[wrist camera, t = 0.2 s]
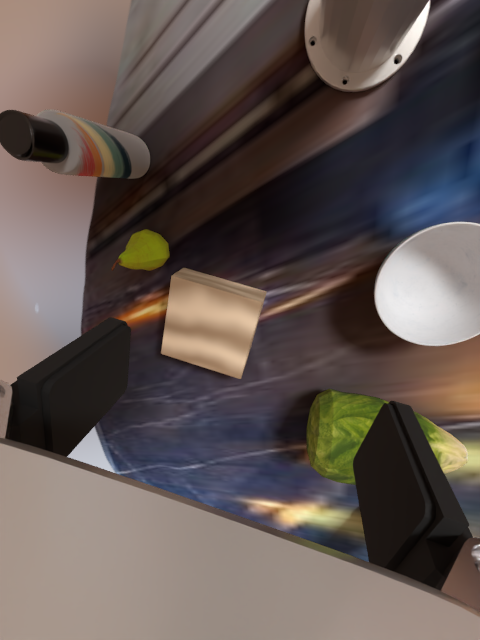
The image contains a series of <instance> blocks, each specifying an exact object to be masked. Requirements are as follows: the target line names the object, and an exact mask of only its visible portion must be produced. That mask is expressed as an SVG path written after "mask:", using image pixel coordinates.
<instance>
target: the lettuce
mask: <svg viewBox="0 0 480 640" xmlns="http://www.w3.org/2000/svg"><path fill="white" fill-rule="evenodd" d="M384 403H387V404H388V403H389V402H387V401H385V400H382V399H380V398H376V397H371V396H366V395H361V394H354V393H345V392H340V391H337V390H333V389H328V390H326V391H323V392H321V393H319V394H318V395H317V396H316V398H315V400H314V402H313V404H312V406H311V408H310V412H309V418H308V424H307V452H308V456H309V460H310V464H311V466H312V467H313V468H314V469H315V470H316V471H317V472H318V473H319V474H320V475H321V476H322V477H325V478H328V479H330V480H333V481H336V482H340V483H346V484H352V485H356V482H355V477H354V471H353V460H354V457H355V455H356V453H357V451H358V449H359V447H360V445H361V444H362V442H363V440H364V438H365V436H366V434H367V433H368V431H369V429H370V427H371V425H372V423H373V422H374V420H375V418H376V416H377V414H378V412H379V411H380V409H381V407H382V405H383V404H384ZM413 412H414V411H413ZM414 414H415V416H416V418H417V420H418V422H419V424H420V426H421V428H422V430H423V432H424V434H425V436H426V438H427V440H428V442H429V444H430V446H431V448H432V450H433V452H434V454H435V456H436V458H437V460H438V462H439V464H440V466H441V468H442V470H443V472H444V473H448V472H451V471H454V470H456V469H459V468H460V467H462V466H464V465H465V464H466V463H467V460H468V453H467V450H466V447H465V446H464V445H463V444H462V443H461V442H460V441H459V440H457V439H456V438H455V437H454V436H452V435H451V434H449V433H448V432H446V431H444V430H443V429H441V428H439V427H438V426H436V425H435V424H434V423H432V422H431V421H430V420H428V419H427V418H425V417H423V416H421V415H420V414H418V413H416V412H414Z"/></svg>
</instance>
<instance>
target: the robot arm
mask: <svg viewBox="0 0 480 640" xmlns="http://www.w3.org/2000/svg"><path fill="white" fill-rule="evenodd" d="M429 9H430V0H309V3H308V6H307V12H306V18H305V46H306V50H307V55H308V58H309V61H310V63H311V66H312V68H313V69H314V71H315V72H316V74H317V75H318V77H319V78H320V79H321V80H323V81H324V82H325V83H326V84H327V85H329V86H331V87H332V88H334V89H337V90H340V91H344V92H359V91H365V90H368V89H371V88H373V87H376V86H378V85H379V84H381V83H383V82H384V81H386V80H388V79H389V78H390V77H391V76H392V75H393V74H395V73H396V72H397V71H398V70H399V69H400V68H401V66H402V65H403V64H404V63H405V62H406V61H407V59H408V58H409V56H410V55H411V54H412V52H413V51H414V49H415V47H416V46H417V44H418V42H419V40H420V38H421V36H422V33H423V31H424V28H425V25H426V23H427V18H428V14H429ZM312 42H314V43H315V45H314V46H311V45H310V44H311V43H312ZM394 60H398V64H394ZM344 80H345V81H347V84H346V85H343V83H342V82H343V81H344ZM130 336H131V329H130V327H128V326H127V323H126V322H125V321H122V320H118V319H115V318H108V319H107V320H105V321H103V322H102V323H100V324H99V325H97V326H96V327H94V328H93V329H91V330H90V331H88V332H86V333H85V334H83V335H82V336H80V337H79V338H77V339H76V340H74V341H72V342H71V343H69V344H68V345H66V346H65V347H63V348H62V349H60V350H59V351H57V352H56V353H54V354H52V355H51V356H49V357H48V358H46V359H45V360H43V361H41V362H40V363H39V364H37V365H35V366H34V367H32V368H31V369H29V370H28V371H26V372H24V373H23V374H21V375H20V376H18V377H17V381H16V382H14V383H13V384H11V385H9V384H8V383H7V382H4V381H2V380H0V640H480V538H477V537H474V538H473V537H472V534H471V532H470V530H469V528H468V526H469V523H468V521H467V519H466V517H465V515H464V513H463V511H462V509H461V507H460V505H459V503H458V501H457V499H456V497H455V495H454V493H453V491H452V489H451V487H450V485H449V483H448V481H447V479H446V477H445V475H444V472H443V470H442V468H441V466H440V464H439V462H438V460H437V458H436V456H435V454H434V452H433V450H432V448H431V446H430V444H429V442H428V440H427V438H426V436H425V434H424V432H423V430H422V428H421V426H420V424H419V422H418V420H417V418H416V416H415V414H414V412H413V410H412V408H411V407H410V406H409V405H405V404H402V403H398V402H395V401H390V402H389V403H388V404H387V403H384V404H383V405H382V407H381V409H380V411H379V412H378V414H377V416H376V418H375V420H374V422H373V423H372V425H371V427H370V429H369V431H368V433H367V434H366V436H365V438H364V440H363V442H362V444H361V445H360V447H359V449H358V451H357V453H356V455H355V457H354V460H353V471H354V477H355V482H356V488H357V494H358V500H359V505H360V511H361V517H362V523H363V528H364V534H365V540H366V546H367V552H368V557H369V562H366V561H364V560H361V559H358V558H356V557H353V556H350V555H348V554H345V553H342V552H339V551H336V550H334V549H331V548H328V547H325V546H322V545H319V544H317V543H314V542H311V541H308V540H305V539H303V538H300V537H297V536H294V535H291V534H288V533H286V532H283V531H280V530H277V529H274V528H271V527H269V526H266V525H263V524H260V523H257V522H254V521H252V520H249V519H246V518H243V517H240V516H237V515H234V514H231V513H229V512H226V511H223V510H220V509H217V508H214V507H211V506H209V505H206V504H203V503H200V502H197V501H194V500H191V499H188V498H185V497H183V496H180V495H177V494H174V493H171V492H168V491H165V490H162V489H159V488H157V487H154V486H151V485H148V484H145V483H142V482H139V481H136V480H133V479H130V478H127V477H124V476H121V475H118V474H116V473H113V472H110V471H107V470H104V469H101V468H98V467H95V466H92V465H89V464H86V463H83V462H80V461H77V460H74V459H71V458H68V457H67V456H68V455H69V454H70V453H71V452H72V450H73V449H74V448H75V447H76V446H77V445H78V444H79V443H80V442H81V440H82V439H83V438H84V437H85V436H86V435H87V434H88V433H89V432H90V430H91V429H92V428H93V427H94V426H95V425H96V424H97V423H98V422H99V420H100V419H101V418H102V417H103V416H104V415H105V414H106V413H107V412H108V410H109V409H110V408H111V407H112V406H113V405H114V404H115V403H116V401H117V400H118V399H119V398H120V397H121V396H122V395H123V394H124V392H125V390H126V388H127V383H128V367H129V351H130Z"/></svg>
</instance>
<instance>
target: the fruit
mask: <svg viewBox="0 0 480 640" xmlns="http://www.w3.org/2000/svg"><path fill="white" fill-rule="evenodd" d="M169 256H170V255H169V246H168V243H167V242H166V241H165V240H164V238H163V237H162V236H161V235H160V234H158V233H155V232H152V231H150V230H147V229H145V230H142V231H140V232H137V233H135V234H133V235H132V236H131V238H130V240H129V242H128V244H127V246H126V250H125V251H124V252H123V253H122V254H121V255H120V256H119V258H118V259H117V260H116V262H115V263H114V265H113V267H112V269H111V270H113V269H114V267H115V265H116V264H117V263H119V265H121V266H124V267H127V268H130V269H144V270H148V271H150V270H153V269H156V268H158V267H161V266H163V265H164V263H165V262H166V260H167V259H168V258H169Z"/></svg>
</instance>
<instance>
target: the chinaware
mask: <svg viewBox="0 0 480 640" xmlns="http://www.w3.org/2000/svg"><path fill="white" fill-rule="evenodd" d="M374 300H375V306H376V309H377V312H378V314H379V317H380V318H381V320H382V322H383V323H384V324H385V326H386V327H387V328H388V329H389V330H390V331H391V332H393V333H394V334H395V335H397V336H398V337H400V338H402V339H404V340H406V341H409V342H412V343H415V344H420V345H427V346H442V345H450V344H455V343H459V342H462V341H465V340H468V339H470V338H472V337H475V336H477V335H479V334H480V224H476V223H470V222H450V223H443V224H439V225H434V226H431V227H428V228H425V229H423V230H420V231H418V232H416V233H414V234H412V235H410V236H409V237H407V238H406V239H404V240H403V241H401V242H400V243H399V244H398V245H397V246H396V247H395V248H393V250H392V251H391V252H390V253H389V254H388V255H387V257H386V258H385V259H384V261H383V263H382V265H381V266H380V269H379V271H378V273H377V277H376V280H375V286H374Z"/></svg>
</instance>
